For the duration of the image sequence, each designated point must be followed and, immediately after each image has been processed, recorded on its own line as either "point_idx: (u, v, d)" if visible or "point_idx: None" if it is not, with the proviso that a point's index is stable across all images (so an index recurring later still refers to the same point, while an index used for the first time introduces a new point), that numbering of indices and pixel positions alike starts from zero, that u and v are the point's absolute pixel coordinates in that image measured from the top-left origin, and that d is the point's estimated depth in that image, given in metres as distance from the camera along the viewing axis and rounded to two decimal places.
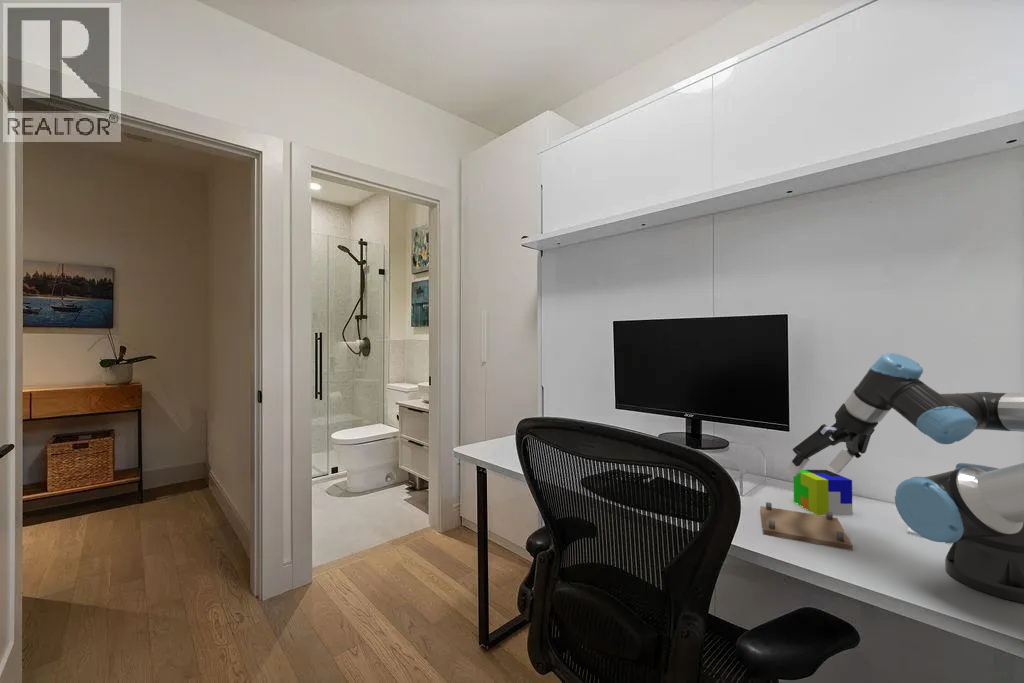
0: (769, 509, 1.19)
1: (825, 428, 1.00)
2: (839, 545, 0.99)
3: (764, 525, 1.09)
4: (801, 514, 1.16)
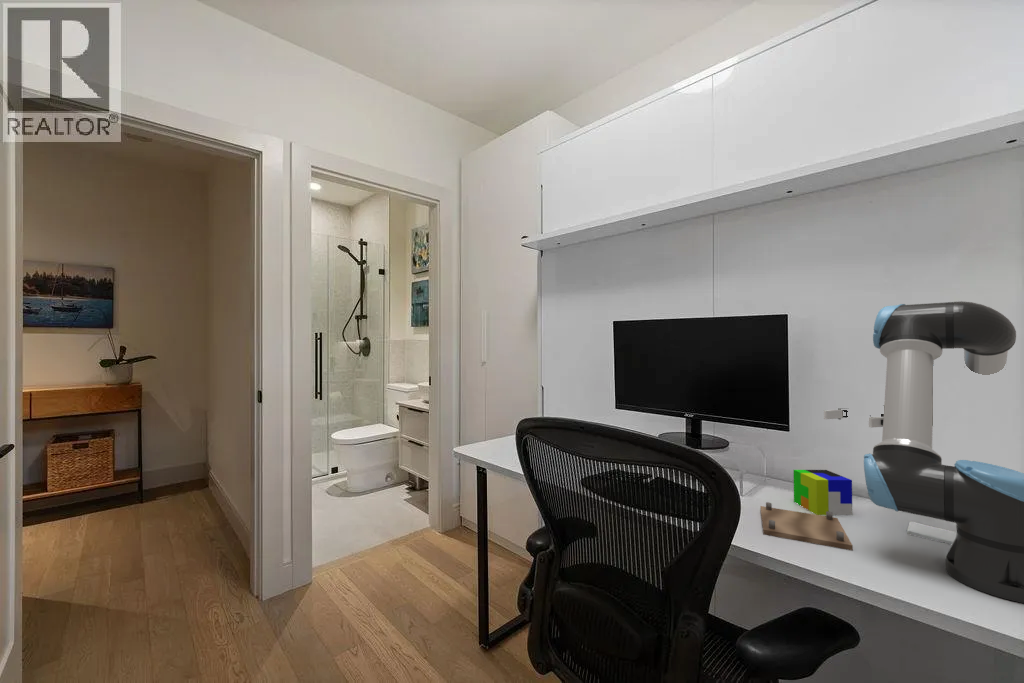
0: (769, 509, 1.19)
1: None
2: (839, 545, 0.99)
3: (764, 525, 1.09)
4: (801, 514, 1.16)
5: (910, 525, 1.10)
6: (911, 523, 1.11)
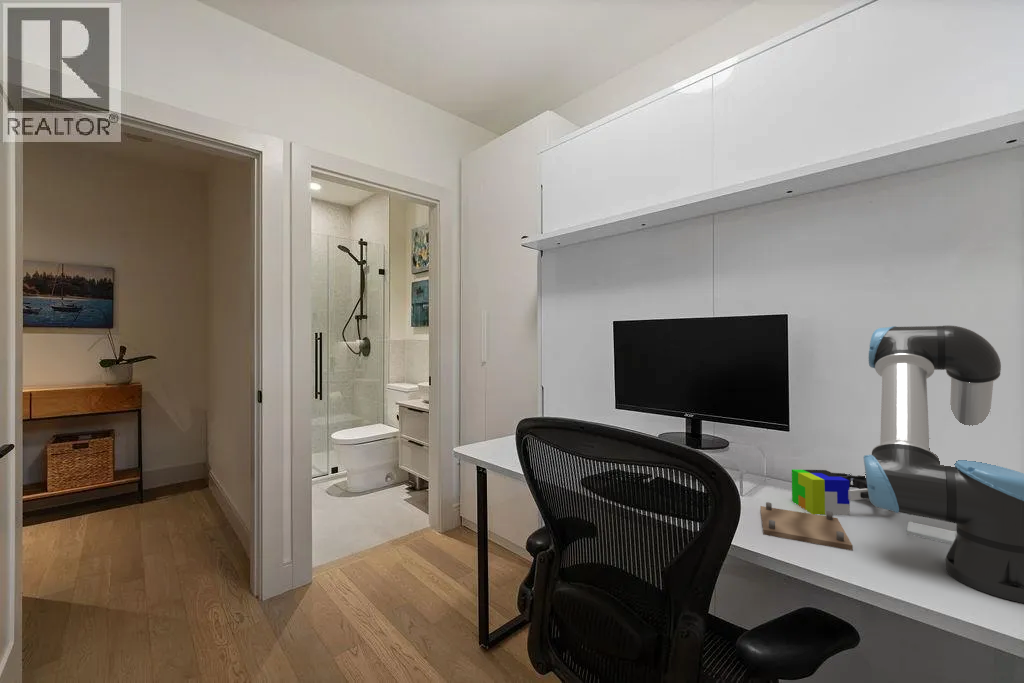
0: (769, 509, 1.19)
1: None
2: (839, 545, 0.99)
3: (764, 525, 1.09)
4: (801, 514, 1.16)
5: (909, 525, 1.10)
6: (910, 523, 1.11)
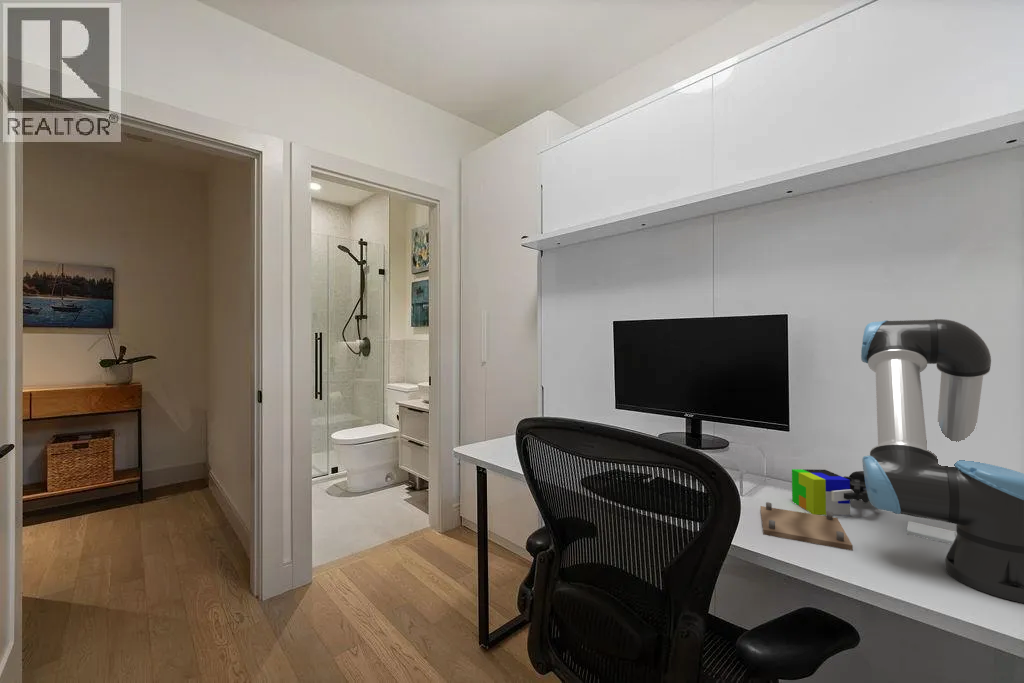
0: (769, 509, 1.19)
1: None
2: (839, 545, 0.99)
3: (764, 525, 1.09)
4: (801, 514, 1.16)
5: (909, 525, 1.10)
6: (910, 523, 1.11)
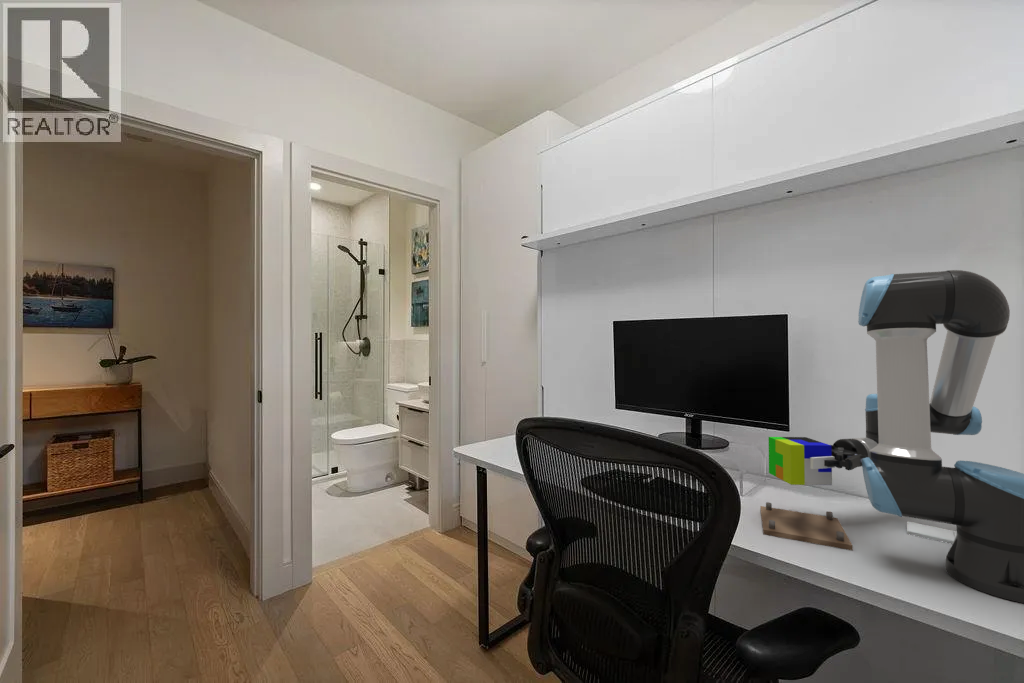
0: (769, 509, 1.19)
1: None
2: (839, 545, 0.99)
3: (764, 525, 1.09)
4: (801, 514, 1.16)
5: (908, 525, 1.10)
6: (908, 523, 1.11)
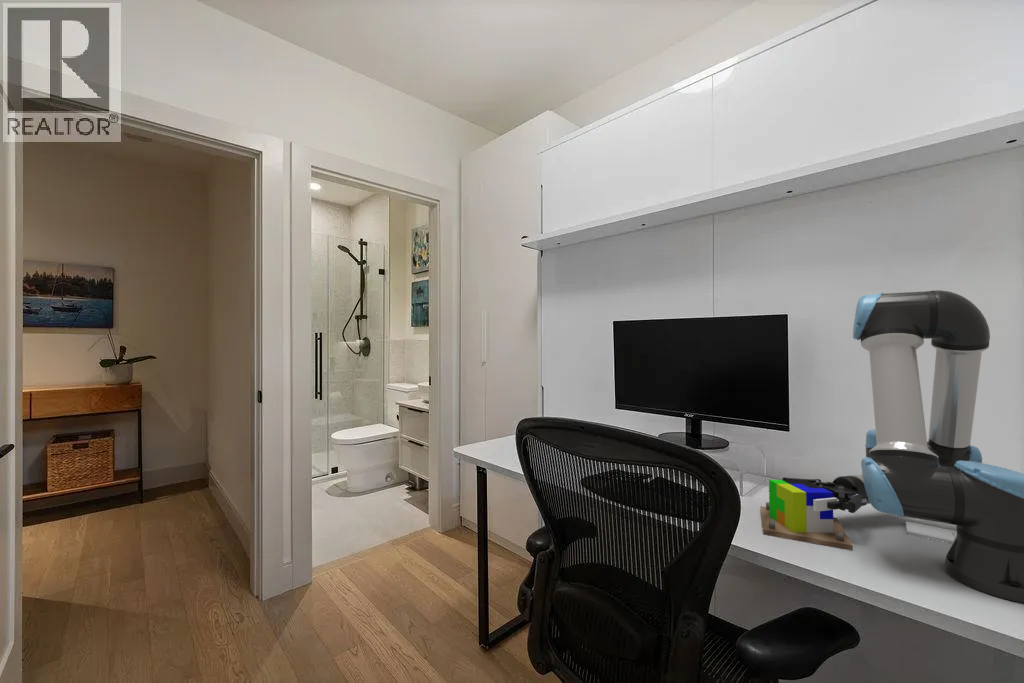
0: None
1: None
2: (839, 545, 0.99)
3: (764, 525, 1.09)
4: None
5: (907, 525, 1.10)
6: (907, 523, 1.11)
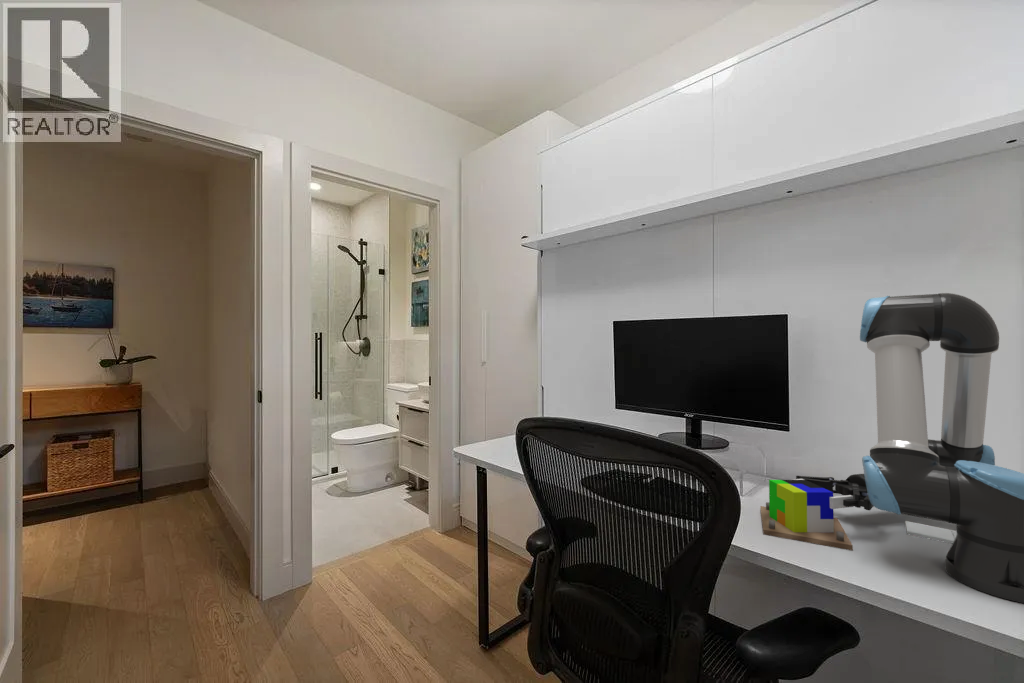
0: None
1: None
2: (839, 545, 0.99)
3: (764, 525, 1.09)
4: None
5: (907, 525, 1.10)
6: (907, 523, 1.11)
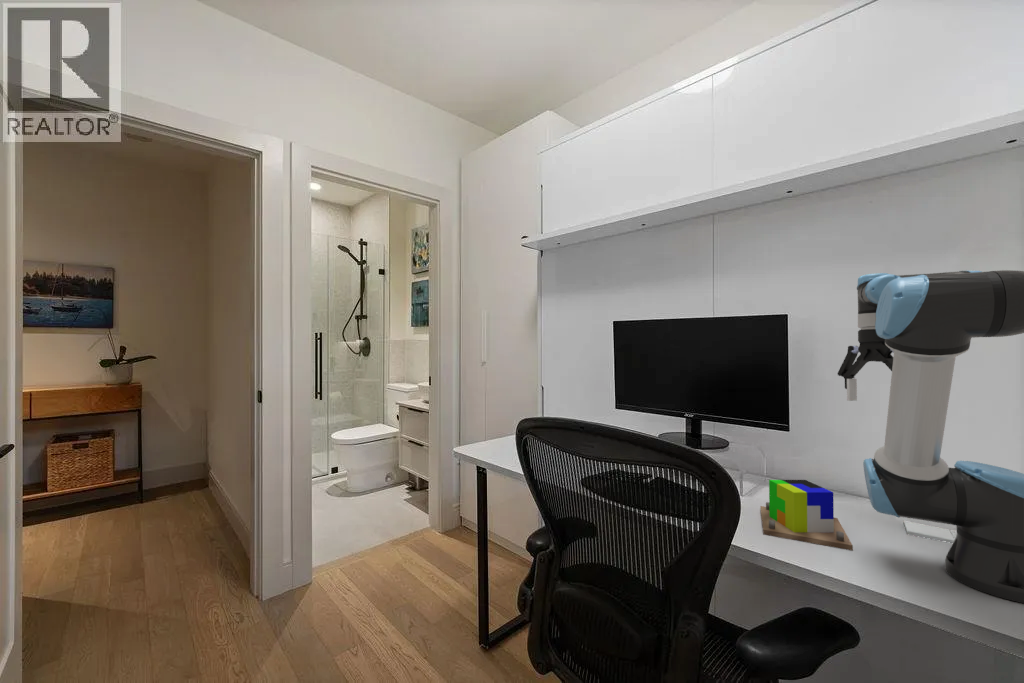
0: None
1: None
2: (839, 545, 0.99)
3: (764, 525, 1.09)
4: None
5: (906, 525, 1.10)
6: (906, 522, 1.11)
